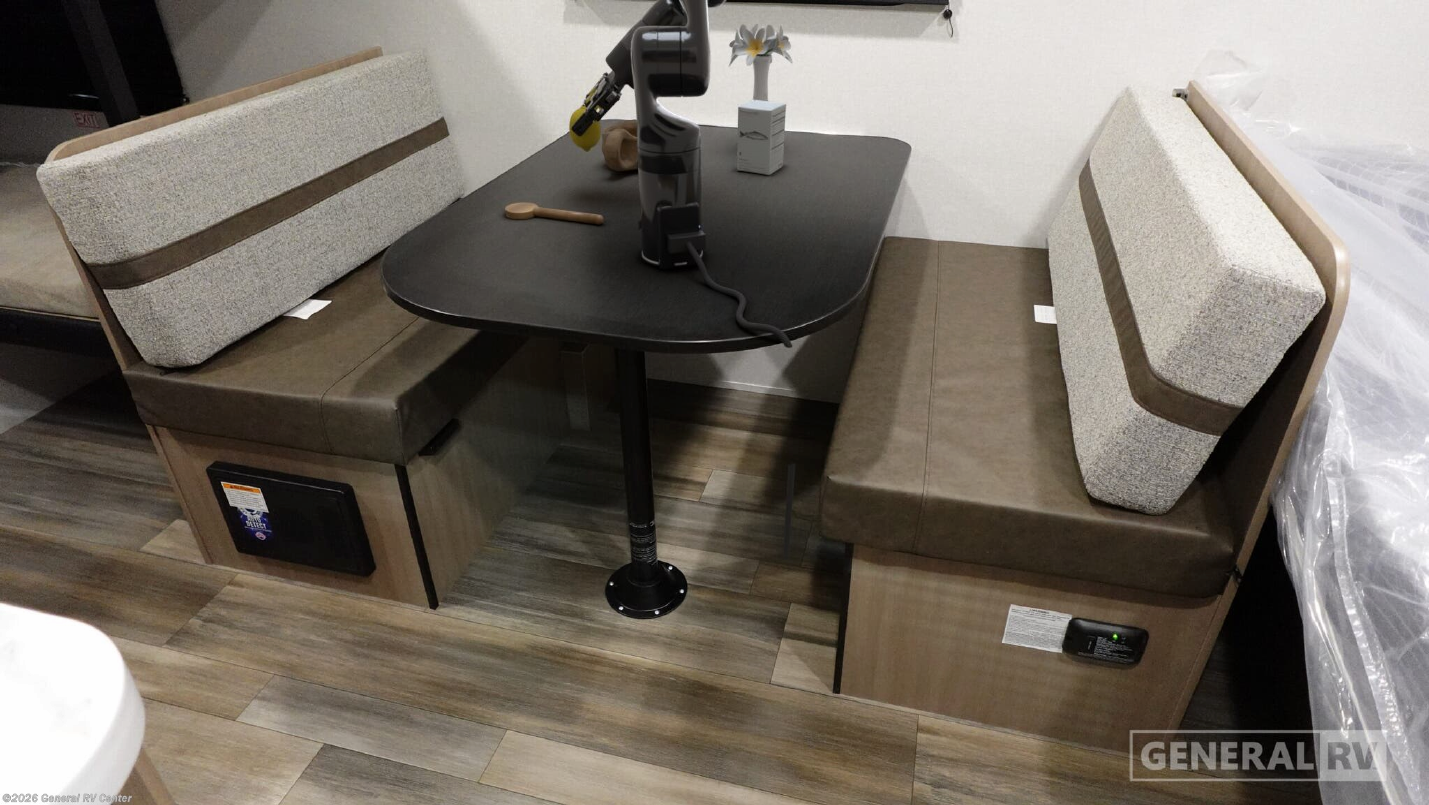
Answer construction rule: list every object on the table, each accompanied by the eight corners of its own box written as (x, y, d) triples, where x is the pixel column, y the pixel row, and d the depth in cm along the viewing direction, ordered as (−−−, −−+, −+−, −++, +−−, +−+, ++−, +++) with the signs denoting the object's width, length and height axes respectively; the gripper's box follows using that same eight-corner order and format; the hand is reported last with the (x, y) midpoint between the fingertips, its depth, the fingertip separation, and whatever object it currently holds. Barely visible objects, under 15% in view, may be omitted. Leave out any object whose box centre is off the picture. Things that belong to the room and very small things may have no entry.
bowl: (666, 175, 168) (650, 123, 164) (599, 192, 172) (581, 142, 167) (681, 149, 183) (667, 101, 179) (619, 165, 187) (603, 119, 182)
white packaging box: (735, 171, 176) (736, 105, 169) (751, 161, 181) (752, 98, 175) (769, 176, 173) (771, 109, 166) (784, 166, 178) (787, 102, 172)
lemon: (575, 157, 155) (570, 110, 151) (568, 149, 160) (564, 103, 156) (605, 153, 157) (602, 107, 153) (598, 146, 161) (594, 101, 157)
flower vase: (778, 135, 199) (782, 16, 186) (795, 158, 183) (800, 29, 171) (721, 137, 198) (721, 17, 185) (733, 160, 182) (734, 30, 169)
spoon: (610, 219, 151) (610, 210, 151) (595, 230, 147) (595, 220, 146) (516, 207, 157) (515, 198, 156) (499, 217, 153) (498, 208, 152)
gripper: (619, 31, 156) (558, 104, 160) (624, 45, 143) (558, 123, 148) (651, 62, 159) (589, 132, 164) (658, 78, 147) (592, 153, 152)
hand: (575, 128), depth 156 cm, fingers closed on lemon, 5 cm apart
